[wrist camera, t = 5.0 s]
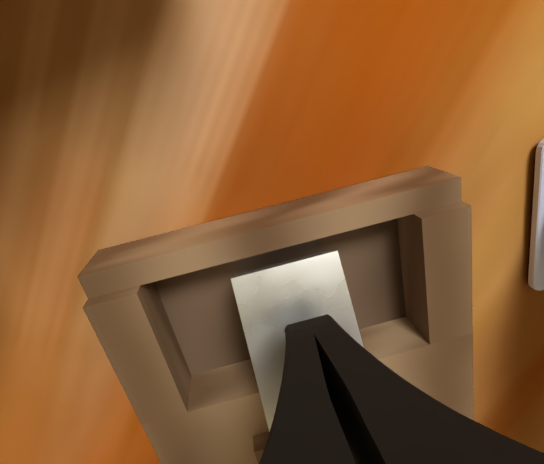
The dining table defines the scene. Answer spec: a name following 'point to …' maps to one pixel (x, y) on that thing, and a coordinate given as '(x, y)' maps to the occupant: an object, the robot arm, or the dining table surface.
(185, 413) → the board
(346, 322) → the bar
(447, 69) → the dining table surface
